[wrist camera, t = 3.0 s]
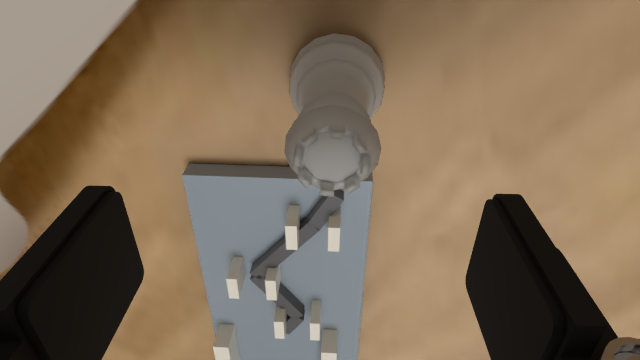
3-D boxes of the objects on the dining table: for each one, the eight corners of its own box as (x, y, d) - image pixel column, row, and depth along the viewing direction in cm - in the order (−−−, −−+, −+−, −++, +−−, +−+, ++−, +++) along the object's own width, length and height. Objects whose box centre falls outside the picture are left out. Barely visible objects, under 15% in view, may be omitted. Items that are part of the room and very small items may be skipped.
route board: (189, 163, 23) (170, 194, 21) (371, 169, 23) (374, 202, 20) (230, 375, 34) (220, 412, 32) (353, 382, 34) (354, 420, 31)
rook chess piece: (363, 132, 22) (370, 234, 15) (279, 105, 21) (248, 198, 14) (399, 49, 19) (426, 127, 13) (306, 16, 19) (283, 78, 12)
